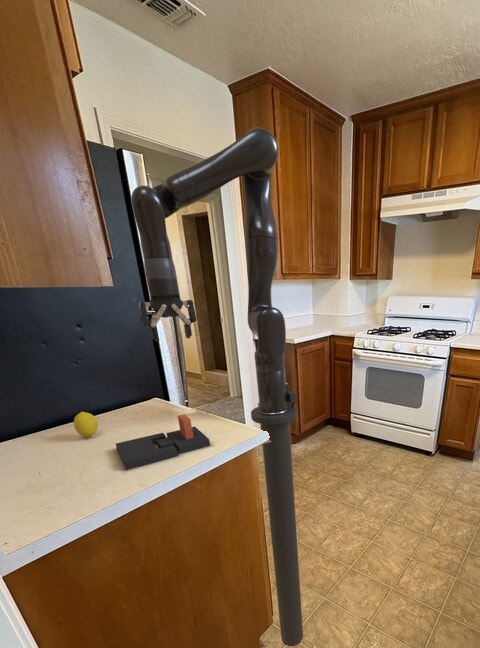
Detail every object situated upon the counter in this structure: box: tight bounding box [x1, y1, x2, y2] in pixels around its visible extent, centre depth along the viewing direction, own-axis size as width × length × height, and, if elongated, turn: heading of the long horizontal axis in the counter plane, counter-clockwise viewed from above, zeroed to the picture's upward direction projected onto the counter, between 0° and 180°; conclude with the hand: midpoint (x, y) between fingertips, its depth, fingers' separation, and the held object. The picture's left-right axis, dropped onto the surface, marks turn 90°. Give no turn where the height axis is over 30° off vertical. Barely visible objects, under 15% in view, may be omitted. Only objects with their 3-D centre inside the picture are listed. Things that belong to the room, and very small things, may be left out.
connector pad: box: [156, 413, 211, 455], centre depth 95 cm, size 12×12×8 cm
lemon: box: [73, 411, 99, 439], centre depth 101 cm, size 6×6×8 cm
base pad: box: [115, 432, 179, 471], centre depth 92 cm, size 12×14×2 cm
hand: (173, 339), depth 100 cm, fingers open, 8 cm apart
